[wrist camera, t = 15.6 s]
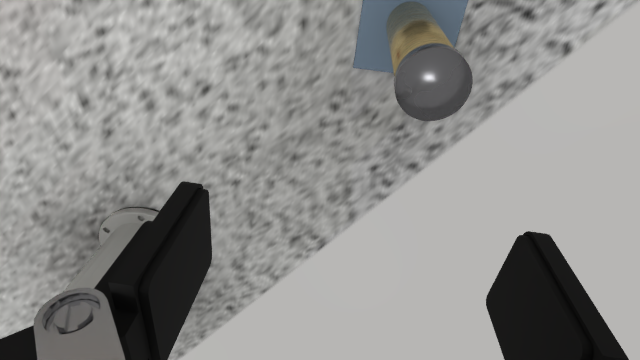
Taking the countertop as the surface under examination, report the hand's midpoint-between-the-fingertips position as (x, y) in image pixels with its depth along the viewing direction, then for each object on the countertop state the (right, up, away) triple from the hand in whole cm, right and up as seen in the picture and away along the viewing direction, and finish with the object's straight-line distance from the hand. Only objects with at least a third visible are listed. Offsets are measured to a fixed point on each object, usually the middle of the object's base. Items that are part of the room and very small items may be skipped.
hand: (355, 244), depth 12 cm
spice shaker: (+6, +14, +19) cm, 25 cm away
